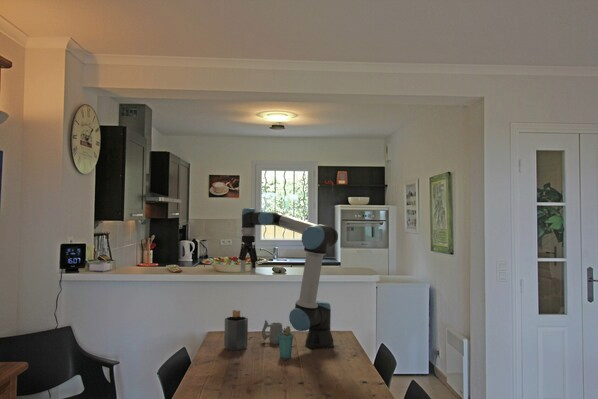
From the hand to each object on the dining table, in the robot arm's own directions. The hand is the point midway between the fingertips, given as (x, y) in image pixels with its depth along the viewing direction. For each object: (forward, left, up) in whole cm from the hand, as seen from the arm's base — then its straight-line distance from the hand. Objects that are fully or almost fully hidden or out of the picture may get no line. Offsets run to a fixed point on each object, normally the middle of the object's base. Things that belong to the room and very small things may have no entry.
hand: (247, 272), depth 264 cm
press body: (-13, +13, -37) cm, 41 cm away
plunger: (-15, +13, -35) cm, 40 cm away
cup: (-43, -1, -37) cm, 57 cm away
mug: (-14, -9, -37) cm, 40 cm away
